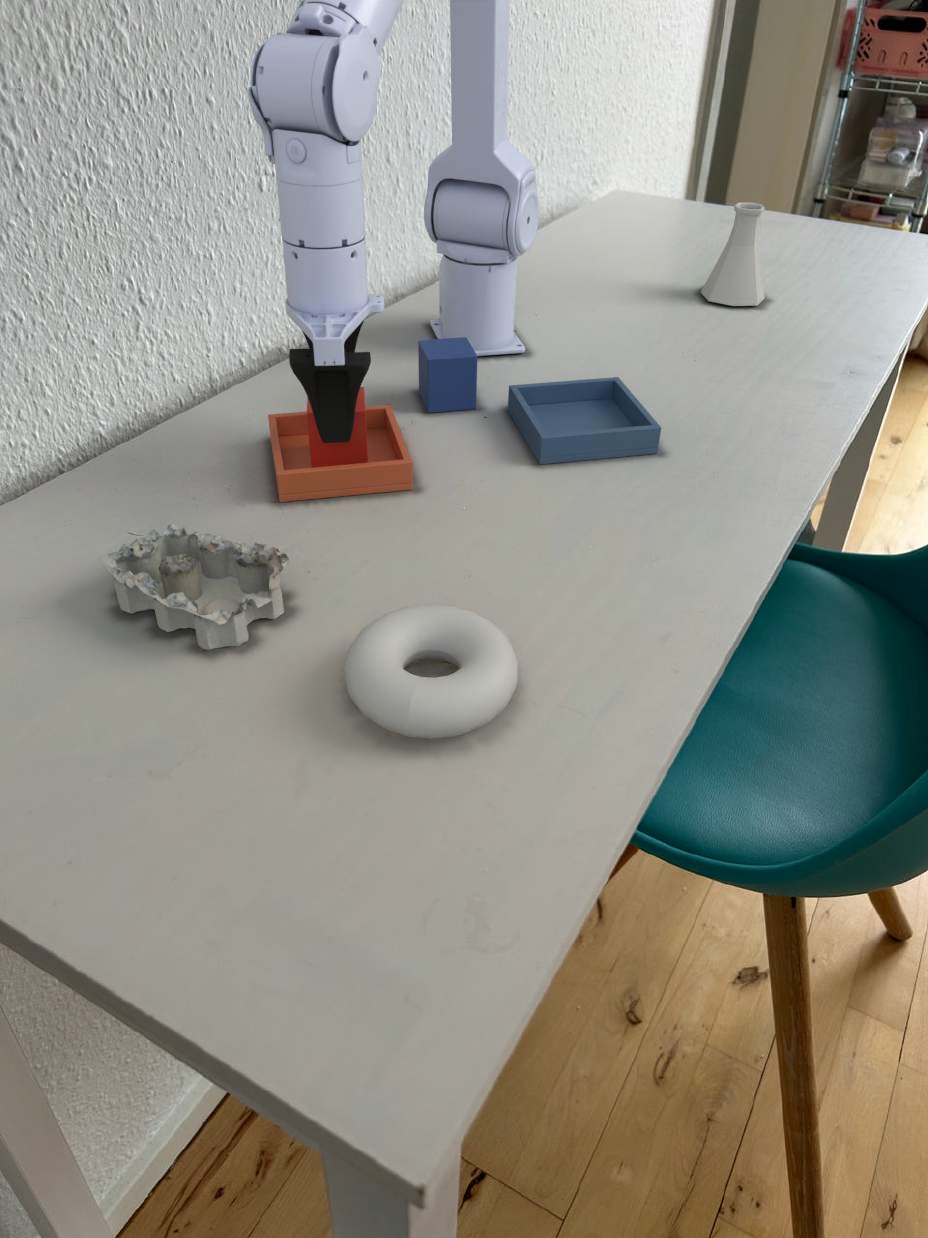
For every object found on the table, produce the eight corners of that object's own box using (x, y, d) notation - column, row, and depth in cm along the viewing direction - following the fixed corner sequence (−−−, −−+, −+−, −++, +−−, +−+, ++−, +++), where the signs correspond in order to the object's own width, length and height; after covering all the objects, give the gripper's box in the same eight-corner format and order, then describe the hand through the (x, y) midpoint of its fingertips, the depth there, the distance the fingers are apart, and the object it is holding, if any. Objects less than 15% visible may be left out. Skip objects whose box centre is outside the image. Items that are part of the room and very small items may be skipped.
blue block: (418, 392, 88) (418, 339, 85) (465, 388, 88) (466, 336, 85) (427, 413, 84) (427, 359, 81) (476, 409, 85) (477, 355, 82)
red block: (312, 445, 78) (307, 387, 75) (366, 443, 78) (364, 386, 75) (311, 471, 74) (306, 412, 71) (368, 469, 75) (365, 410, 72)
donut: (505, 635, 60) (345, 638, 59) (509, 590, 58) (343, 593, 57) (527, 749, 52) (343, 755, 51) (532, 703, 50) (340, 708, 49)
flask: (765, 311, 106) (786, 217, 100) (699, 305, 107) (716, 211, 101) (762, 289, 112) (782, 199, 106) (700, 284, 113) (715, 194, 107)
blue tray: (507, 410, 85) (508, 385, 84) (615, 401, 87) (618, 376, 85) (539, 464, 77) (541, 437, 76) (657, 453, 79) (661, 427, 78)
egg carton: (302, 606, 62) (297, 554, 59) (216, 667, 57) (206, 613, 54) (189, 550, 66) (179, 499, 64) (100, 602, 61) (86, 549, 59)
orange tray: (270, 440, 80) (267, 414, 78) (391, 430, 81) (390, 404, 80) (279, 502, 72) (276, 474, 70) (412, 489, 74) (412, 462, 72)
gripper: (386, 269, 60) (392, 460, 69) (377, 207, 72) (383, 377, 80) (274, 271, 60) (293, 463, 68) (283, 208, 71) (298, 379, 79)
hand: (336, 417), depth 74 cm, fingers open, 7 cm apart
